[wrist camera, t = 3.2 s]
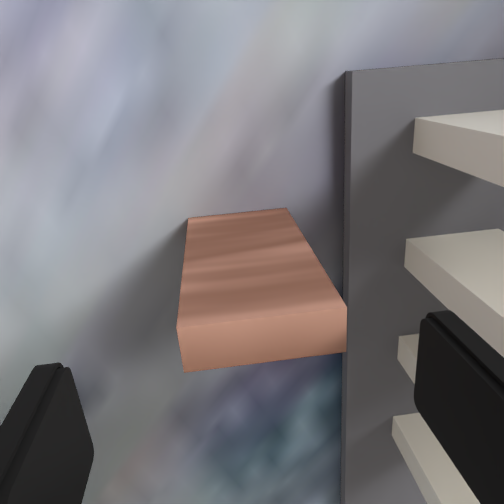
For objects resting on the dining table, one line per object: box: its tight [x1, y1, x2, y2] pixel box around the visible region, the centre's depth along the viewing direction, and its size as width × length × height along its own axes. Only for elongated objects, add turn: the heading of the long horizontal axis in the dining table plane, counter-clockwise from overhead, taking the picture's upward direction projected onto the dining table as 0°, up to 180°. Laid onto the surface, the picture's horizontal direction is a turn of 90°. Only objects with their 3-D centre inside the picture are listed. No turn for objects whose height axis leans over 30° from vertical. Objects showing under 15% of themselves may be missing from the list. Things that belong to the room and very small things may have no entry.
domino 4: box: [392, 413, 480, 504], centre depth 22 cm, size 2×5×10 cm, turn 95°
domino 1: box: [176, 208, 347, 373], centre depth 17 cm, size 2×5×10 cm, turn 95°
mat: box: [341, 58, 504, 504], centre depth 25 cm, size 30×11×1 cm, turn 4°
